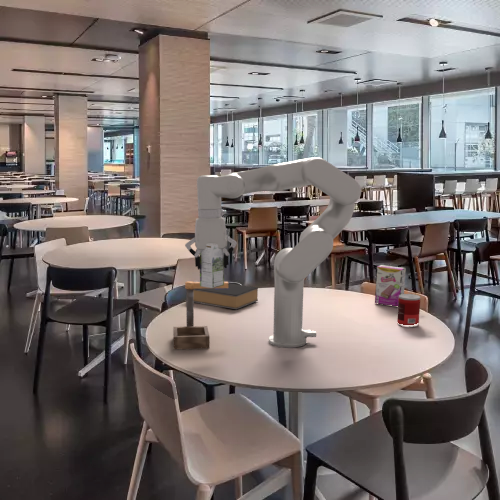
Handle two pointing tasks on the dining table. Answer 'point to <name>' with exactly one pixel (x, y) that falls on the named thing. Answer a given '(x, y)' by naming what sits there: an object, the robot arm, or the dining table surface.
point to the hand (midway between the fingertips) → (212, 267)
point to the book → (227, 296)
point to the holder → (191, 329)
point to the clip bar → (197, 285)
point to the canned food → (408, 309)
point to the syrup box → (211, 266)
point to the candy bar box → (389, 284)
